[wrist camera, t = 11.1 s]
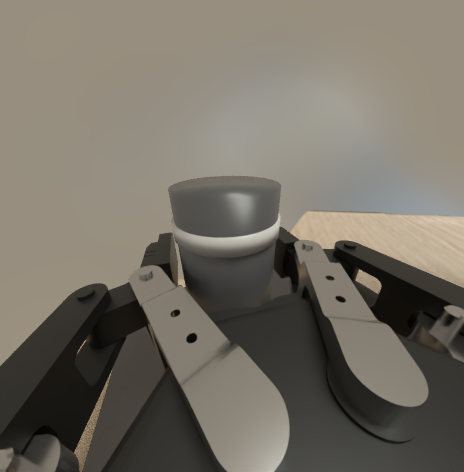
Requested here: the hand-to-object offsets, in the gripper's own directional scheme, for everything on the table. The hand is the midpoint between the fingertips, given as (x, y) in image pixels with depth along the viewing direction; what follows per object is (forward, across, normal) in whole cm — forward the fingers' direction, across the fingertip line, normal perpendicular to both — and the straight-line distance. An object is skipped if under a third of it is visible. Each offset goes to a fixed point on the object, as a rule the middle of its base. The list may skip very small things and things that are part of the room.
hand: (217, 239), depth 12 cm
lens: (-3, 0, +8) cm, 8 cm away
